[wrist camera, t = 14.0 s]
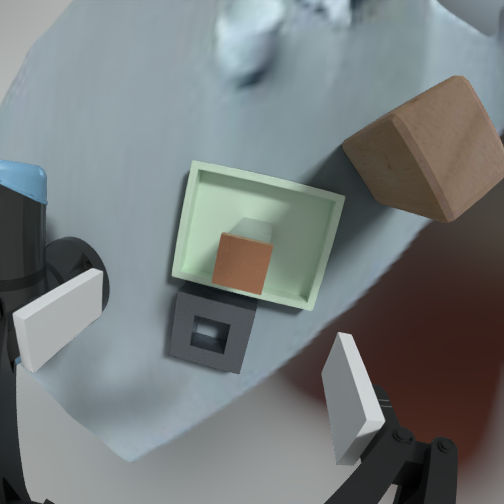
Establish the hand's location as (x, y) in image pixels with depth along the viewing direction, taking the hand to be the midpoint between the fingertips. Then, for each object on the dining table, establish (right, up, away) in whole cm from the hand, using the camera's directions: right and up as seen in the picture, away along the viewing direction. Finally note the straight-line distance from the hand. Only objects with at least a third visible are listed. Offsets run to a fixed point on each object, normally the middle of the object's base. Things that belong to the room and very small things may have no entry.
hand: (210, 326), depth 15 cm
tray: (+3, +6, +27) cm, 28 cm away
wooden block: (+21, +17, +23) cm, 35 cm away
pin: (+3, +6, +26) cm, 27 cm away
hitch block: (-3, -7, +31) cm, 31 cm away
